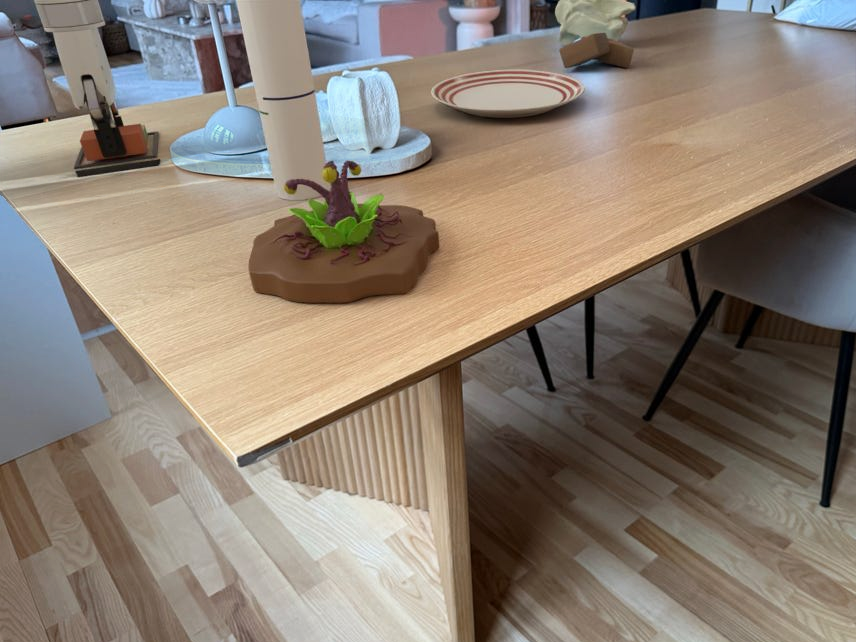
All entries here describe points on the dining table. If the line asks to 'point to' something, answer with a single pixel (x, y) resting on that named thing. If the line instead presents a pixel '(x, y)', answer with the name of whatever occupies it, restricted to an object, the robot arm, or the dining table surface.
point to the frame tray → (118, 167)
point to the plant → (342, 246)
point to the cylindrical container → (284, 92)
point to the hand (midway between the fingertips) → (116, 148)
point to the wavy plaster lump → (591, 18)
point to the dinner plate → (507, 92)
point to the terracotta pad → (131, 139)
